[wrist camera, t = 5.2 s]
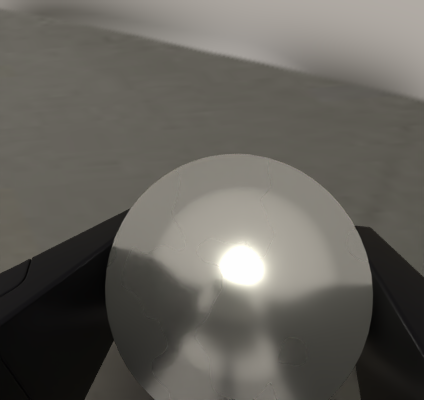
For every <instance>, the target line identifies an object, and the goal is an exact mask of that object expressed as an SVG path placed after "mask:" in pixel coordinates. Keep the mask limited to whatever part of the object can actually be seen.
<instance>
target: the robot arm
mask: <svg viewBox="0 0 424 400" xmlns="http://www.w3.org/2000/svg"><path fill="white" fill-rule="evenodd" d="M130 209H131V208H130ZM130 209H128V210H126V211H124V212H122V213H120V214H118V215H116V216H114V217H112V218H110V219H108V220H106V221H104V222H102V223H100V224H98V225H96V226H94V227H92V228H90V229H88V230H86V231H84V232H82V233H80V234H78V235H76V236H74V237H72V238H70V239H68V240H66V241H64V242H62V243H61V244H59V245H57V246H55V247H53V248H51V249H49V250H47V251H45V252H43V253H41V254H39V255H37V256H35V257H33V258H32V260H31V259H28V260H26V261H25V262H23V263H21V264H19V265H17V266H15V267H13V268H11V269H8V270H6V271H4V272H2V273H0V400H84V399H85V397H86V395H87V393H88V391H89V389H90V387H91V385H92V383H93V381H94V379H95V377H96V375H97V373H98V371H99V369H100V367H101V365H102V363H103V361H104V359H105V357H106V355H107V353H108V351H109V349H110V347H111V345H112V343H113V341H114V338H113V335H112V332H111V328H110V325H109V321H108V315H107V308H106V296H105V282H106V270H107V265H108V260H109V255H110V251H111V248H112V245H113V242H114V239H115V237H116V234H117V232H118V230H119V228H120V226H121V223H122V222H123V220H124V219H125V217H126V215H127V214H128V212H129V210H130ZM355 228H356V230H357V232H358V234H359V236H360V238H361V240H362V243H363V246H364V248H365V251H366V254H367V258H368V262H369V266H370V271H371V277H372V288H373V305H372V317H371V322H370V327H369V333H368V336H367V339H366V342H365V345H364V348H363V351H362V353H361V355H360V357H359V359H358V361H357V363H356V371H357V377H358V383H359V389H360V395H361V400H424V277H423V276H422V275H421V274H420V273H419V272H418V271H417V270H415V269H414V268H413V267H412V266H411V265H410V264H409V263H408V262H407V261H406V260H405V259H404V258H403V257H402V256H401V255H400V254H398V253H397V252H396V251H395V250H394V249H393V248H392V247H391V246H390V245H389V244H388V243H387V242H386V241H385V240H384V239H382V238H381V237H380V236H379V235H378V234H377V233H376V232H375V231H374V230H373V229H372V228H370V227H363V226H355Z"/></svg>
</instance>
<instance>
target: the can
mask: <svg viewBox="0 0 424 400" xmlns="http://www.w3.org/2000/svg"><path fill="white" fill-rule="evenodd" d="M105 296H106V308H107V315H108V321H109V325H110V328H111V332H112V335H113V338H114V341H115V343H116V346H117V348H118V351H119V353H120V355H121V357H122V359H123V360H124V362H125V364H126V366H127V367H128V369H129V371H130V372H131V373H132V375H133V376H134V377H135V379H136V380H137V381H138V383H139V384H140V385H141V386H142V387H143V388H144V389H145V390H146V391H147V392H148V393H149V394H150V396H151V397H152V398H154V399H155V400H328V399H329V398H330V397H331V396H332V395H333V394H334V393H335V392H336V391H337V390H338V389H339V388H340V387H341V386H342V384H343V383H344V382H345V380H346V379H347V377H348V376H349V375H350V373H351V372H352V370H353V369H354V367H355V365H356V363H357V361H358V359H359V357H360V355H361V353H362V351H363V348H364V345H365V342H366V339H367V336H368V333H369V327H370V322H371V317H372V305H373V288H372V277H371V271H370V266H369V262H368V258H367V254H366V251H365V248H364V246H363V243H362V240H361V238H360V236H359V234H358V232H357V230H356V228H355V226H354V224H353V222H352V220H351V219H350V218H349V216H348V215H347V213H346V212H345V210H344V209H343V208H342V206H341V205H340V204H339V203H338V202H337V201H336V199H335V198H334V197H333V196H332V195H331V194H330V193H329V192H328V191H327V190H326V189H325V188H323V187H322V186H321V185H320V184H319V183H317V182H316V181H315V180H314V179H312V178H311V177H309V176H307V175H306V174H304V173H303V172H301V171H300V170H297V169H295V168H293V167H291V166H289V165H287V164H285V163H282V162H279V161H276V160H273V159H270V158H266V157H261V156H256V155H246V154H224V155H216V156H211V157H205V158H202V159H199V160H196V161H192V162H190V163H187V164H185V165H183V166H181V167H179V168H176V169H175V170H173V171H171V172H170V173H168V174H166V175H165V176H163V177H162V178H161V179H159V180H158V181H157V182H155V183H154V184H153V185H152V186H150V187H149V188H148V189H147V190H146V191H145V192H144V193H143V194H142V195H141V196H140V197H139V199H138V200H137V201H136V203H135V204H134V205H133V206H132V208H131V209H130V210H129V212H128V214H127V215H126V217H125V219H124V220H123V222H122V223H121V226H120V228H119V230H118V232H117V234H116V237H115V239H114V242H113V245H112V248H111V251H110V255H109V260H108V265H107V270H106V282H105Z"/></svg>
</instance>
